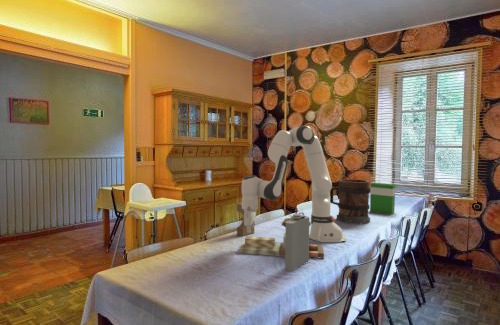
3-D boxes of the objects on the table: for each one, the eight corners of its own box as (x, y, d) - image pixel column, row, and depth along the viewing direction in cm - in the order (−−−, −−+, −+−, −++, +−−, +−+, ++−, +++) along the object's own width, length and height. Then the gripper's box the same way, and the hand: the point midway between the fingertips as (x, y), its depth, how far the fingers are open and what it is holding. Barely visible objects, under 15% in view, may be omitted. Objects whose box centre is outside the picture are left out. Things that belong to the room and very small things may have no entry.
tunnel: (298, 245, 181) (298, 233, 180) (298, 250, 172) (298, 238, 172) (284, 244, 182) (284, 232, 181) (283, 249, 174) (283, 237, 173)
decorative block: (242, 236, 205) (242, 204, 203) (236, 234, 209) (236, 203, 208) (254, 233, 212) (255, 202, 211) (248, 231, 217) (248, 201, 215)
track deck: (322, 249, 181) (322, 244, 181) (324, 258, 168) (324, 253, 168) (244, 244, 189) (244, 240, 188) (239, 253, 175) (239, 248, 175)
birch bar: (275, 245, 181) (275, 237, 181) (274, 247, 176) (274, 240, 176) (246, 243, 183) (246, 236, 183) (244, 245, 179) (245, 238, 179)
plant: (309, 221, 246) (309, 206, 245) (311, 228, 227) (312, 212, 226) (282, 220, 248) (282, 205, 247) (282, 227, 228) (282, 211, 228)
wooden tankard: (365, 225, 233) (366, 183, 231) (325, 220, 249) (325, 180, 247) (372, 219, 252) (374, 180, 250) (335, 214, 268) (336, 177, 266)
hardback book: (370, 211, 280) (370, 183, 278) (372, 210, 285) (373, 182, 284) (391, 214, 269) (392, 185, 267) (394, 212, 275) (395, 184, 273)
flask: (301, 259, 166) (302, 210, 165) (309, 261, 163) (310, 211, 162) (282, 269, 153) (282, 216, 151) (290, 272, 150) (291, 218, 148)
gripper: (252, 209, 168) (253, 235, 169) (257, 201, 188) (258, 225, 189) (240, 209, 169) (241, 235, 170) (247, 201, 189) (247, 225, 190)
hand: (250, 230), depth 180 cm, fingers open, 8 cm apart
